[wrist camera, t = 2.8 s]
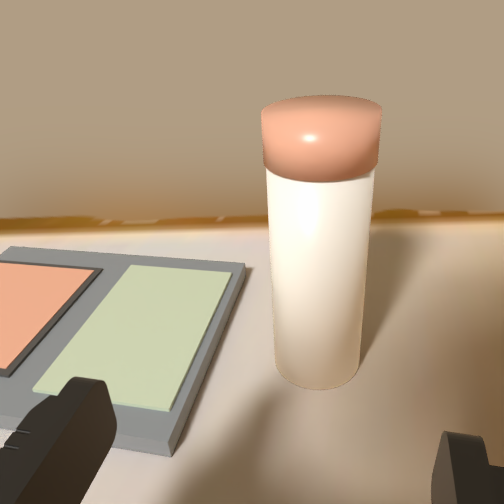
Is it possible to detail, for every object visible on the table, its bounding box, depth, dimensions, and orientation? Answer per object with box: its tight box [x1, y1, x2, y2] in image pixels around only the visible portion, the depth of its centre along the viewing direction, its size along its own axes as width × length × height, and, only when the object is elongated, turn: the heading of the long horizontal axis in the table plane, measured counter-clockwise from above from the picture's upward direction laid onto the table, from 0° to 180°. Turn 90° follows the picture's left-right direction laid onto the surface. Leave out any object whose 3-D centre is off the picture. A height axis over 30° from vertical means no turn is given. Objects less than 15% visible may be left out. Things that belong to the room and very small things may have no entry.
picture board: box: [0, 246, 246, 457], centre depth 28 cm, size 18×14×1 cm
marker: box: [261, 95, 382, 390], centre depth 22 cm, size 5×5×13 cm
